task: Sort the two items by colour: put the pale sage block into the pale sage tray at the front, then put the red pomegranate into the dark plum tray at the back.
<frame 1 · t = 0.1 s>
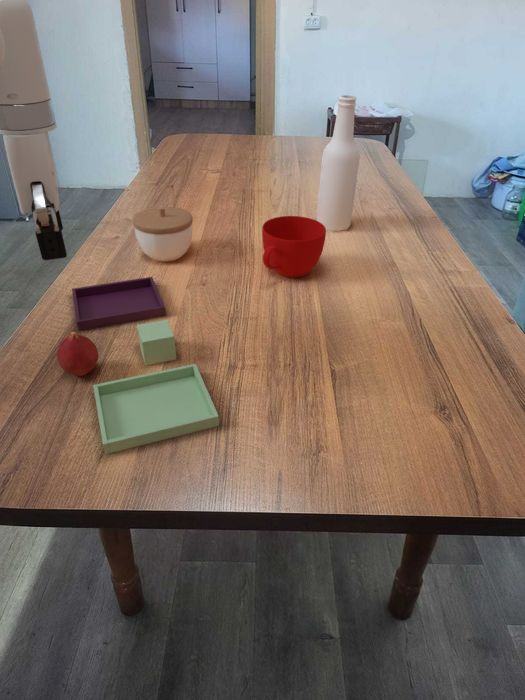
hand: (53, 243, 71), 18 cm above the table, tool pointing down, fingers open, 9 cm apart
plum tray: (119, 308, 92), on the table
alcohol: (332, 226, 126), on the table
ceramic cup: (286, 276, 104), on the table
lidded bowl: (166, 256, 110), on the table
sage block: (158, 355, 81), on the table
red pomegranate: (82, 375, 76), on the table
sage tray: (155, 411, 70), on the table
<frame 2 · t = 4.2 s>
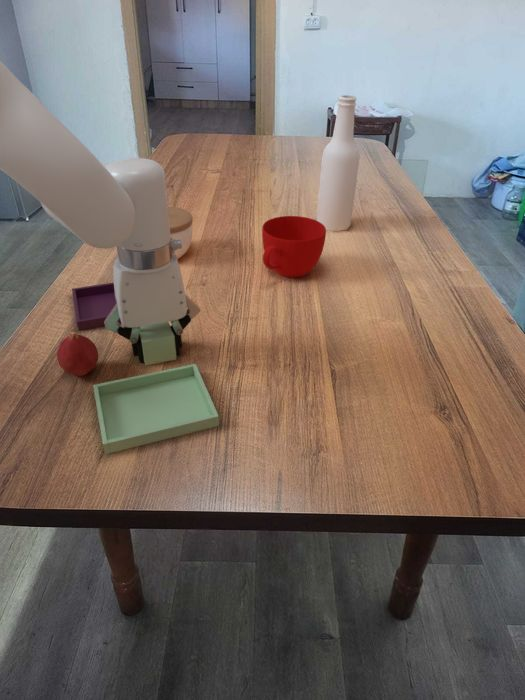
hand: (158, 353, 80), 0 cm above the table, tool pointing down, fingers closed on sage block, 5 cm apart
sage block: (158, 355, 81), on the table, touching gripper
everything else where it was.
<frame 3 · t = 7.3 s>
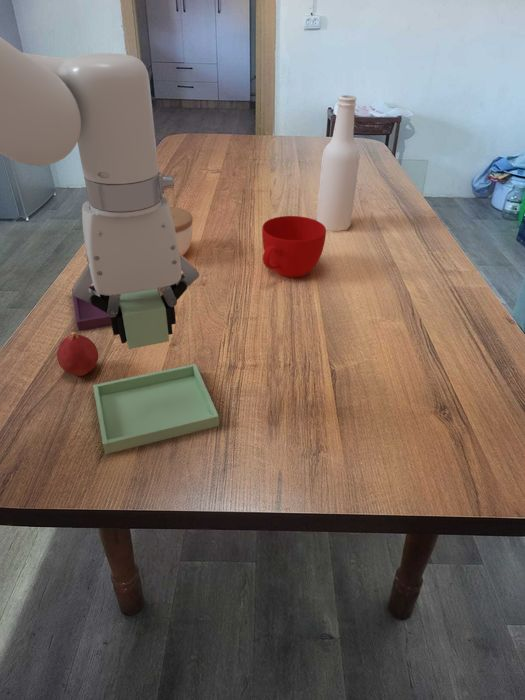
hand: (145, 331, 62), 13 cm above the table, tool pointing down, fingers closed on sage block, 5 cm apart
sage block: (145, 334, 63), point 13 cm above the table, touching gripper
everything else where it was.
when the fingers open (1 cm above the table, at t = 10.5 s): sage block stays where it is, resting on sage tray.
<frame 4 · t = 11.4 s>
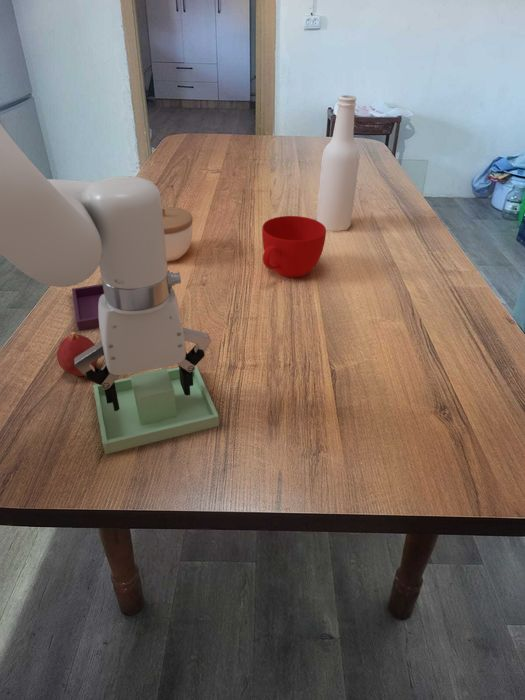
hand: (151, 396, 68), 3 cm above the table, tool pointing down, fingers open, 9 cm apart
sage block: (155, 409, 70), resting on sage tray
everything else where it was.
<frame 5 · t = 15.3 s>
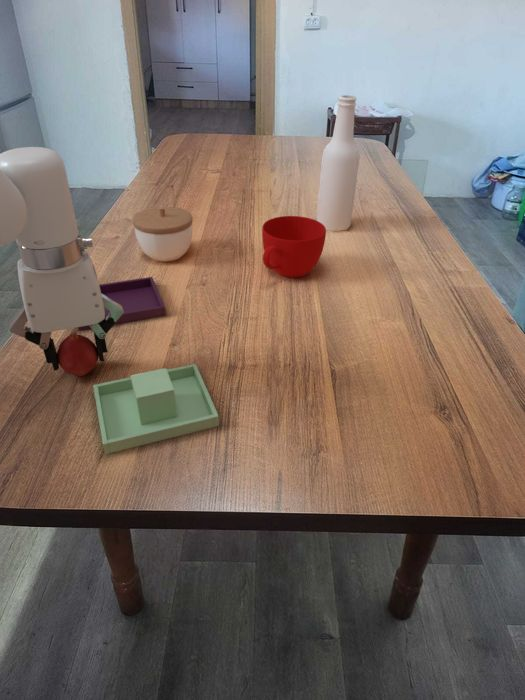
hand: (78, 359, 74), 3 cm above the table, tool pointing down, fingers closed on red pomegranate, 5 cm apart
red pomegranate: (82, 375, 76), on the table, touching gripper
everything else where it was.
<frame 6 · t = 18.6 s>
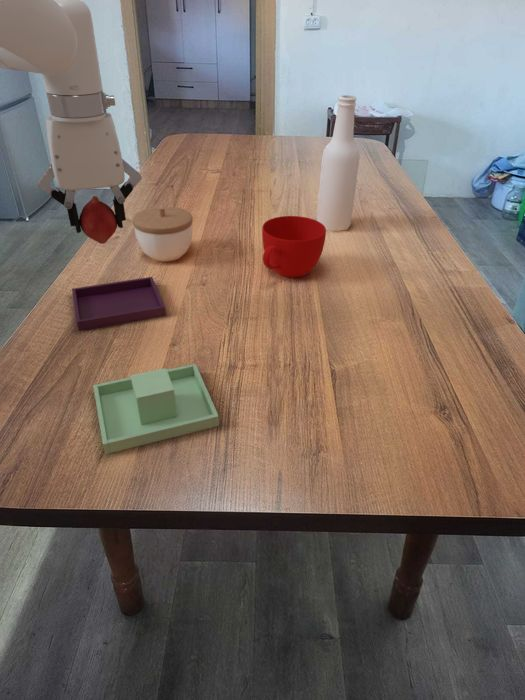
hand: (99, 226, 80), 17 cm above the table, tool pointing down, fingers closed on red pomegranate, 5 cm apart
red pomegranate: (102, 244, 82), point 14 cm above the table, touching gripper
everything else where it was.
when the fingers open (3 cm above the table, at t = 22.2 s): red pomegranate stays where it is, resting on plum tray.
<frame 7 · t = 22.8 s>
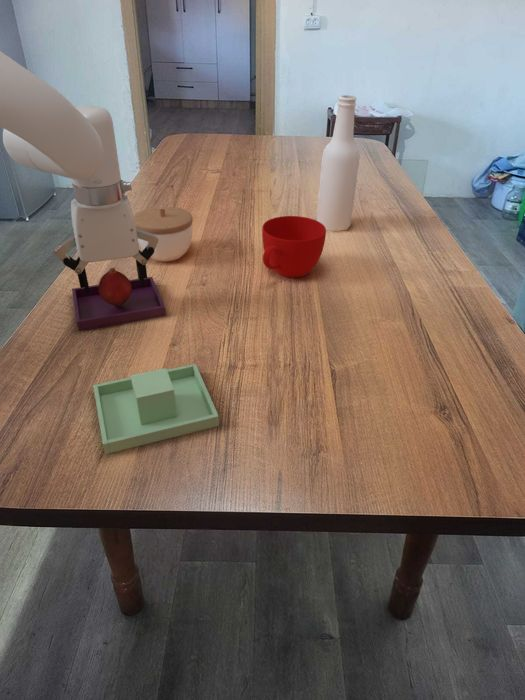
hand: (114, 285, 89), 5 cm above the table, tool pointing down, fingers open, 9 cm apart
red pomegranate: (118, 307, 92), resting on plum tray
everything else where it was.
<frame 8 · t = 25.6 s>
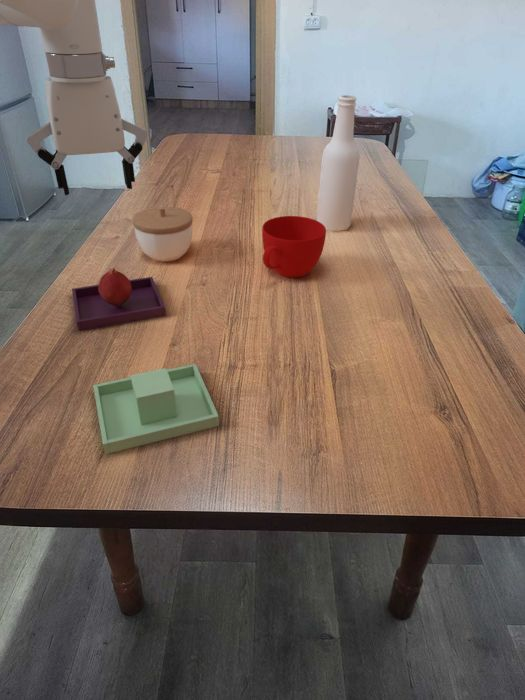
hand: (98, 189, 79), 22 cm above the table, tool pointing down, fingers open, 9 cm apart
nothing on the table moved.
at the end: sage block inside the target area in the sage tray (0.1 cm from its centre), point 0.5 cm above the sage tray's base; red pomegranate inside the target area in the plum tray (0.1 cm from its centre), point 0.3 cm above the plum tray's base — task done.
